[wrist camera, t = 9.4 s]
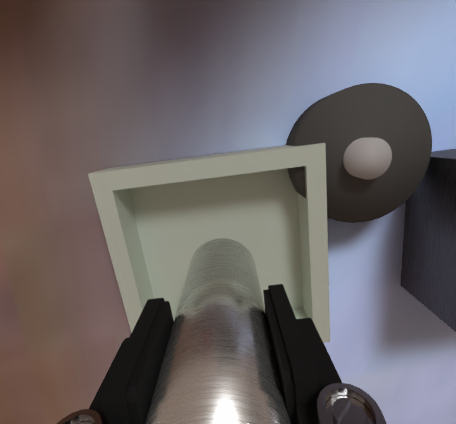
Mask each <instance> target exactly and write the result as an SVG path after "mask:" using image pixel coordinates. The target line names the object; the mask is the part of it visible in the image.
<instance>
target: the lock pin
mask: <svg viewBox="0 0 456 424" xmlns="http://www.w3.org/2000/svg"><path fill="white" fill-rule="evenodd" d="M145 424H291V421H290V418H289V416H288V412H287V407H286V403H285V398H284V394H283V389H282V385H281V380H280V376H279V371H278V367H277V362H276V358H275V353H274V349H273V344H272V340H271V336H270V331H269V327H268V322H267V318H266V313H265V306H264V302H263V297H262V293H261V288H260V284H259V280H258V275H257V271H256V266H255V262H254V259H253V256H252V254H251V253H250V251H249V250H248V249H247V248H246V247H245V246H244V245H242V244H241V243H239V242H237V241H235V240H232V239H226V238H219V239H213V240H210V241H208V242H206V243H204V244H202V245H201V246H200V247H199V248H198V249H197V250H196V251H195V253H194V254H193V256H192V259H191V262H190V266H189V269H188V273H187V276H186V280H185V283H184V287H183V291H182V294H181V298H180V301H179V305H178V308H177V312H176V316H175V319H174V323H173V326H172V330H171V333H170V337H169V341H168V344H167V348H166V351H165V355H164V358H163V362H162V365H161V369H160V373H159V376H158V380H157V383H156V387H155V390H154V394H153V398H152V401H151V405H150V408H149V412H148V415H147V419H146V422H145Z"/></svg>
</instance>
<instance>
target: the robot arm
mask: <svg viewBox="0 0 456 424" xmlns="http://www.w3.org/2000/svg"><path fill="white" fill-rule="evenodd" d="M263 294H264V304H265V313H266V318H267V322H268V327H269V331H270V336H271V340H272V344H273V349H274V353H275V358H276V362H277V367H278V371H279V376H280V380H281V385H282V389H283V394H284V398H285V403H286V407H287V412H288V416H289V418H290V421H291V424H387V423H386V421H385V419H384V416H383V414H382V411H381V410H380V408H379V406H378V404H377V403H376V402H375V401H374V399H373V398H372V397H371V396H370V395H369V394H367V393H366V392H365V391H363V390H362V389H360V388H358V387H356V386H353V385H351V384H346V383H342V382H341V379H340V377H339V375H338V373H337V371H336V369H335V367H334V365H333V363H332V360H331V358H330V356H329V354H328V352H327V350H326V348H325V346H324V344H323V341H322V339H321V337H320V335H319V333H318V331H317V329H316V327H315V324H314V322H313V321H312V319H311V318H302V319H296V317H295V314H294V312H293V309H292V307H291V304H290V302H289V299H288V296H287V294H286V291H285V289H284V286H283V284H277V285H268V289H267V290H263ZM173 323H174V320H173V316H172V311H171V306H170V303H169V301H165V300H164V298H155V299H148V300H147V302H146V304H145V306H144V308H143V310H142V312H141V315H140V317H139V319H138V321H137V323H136V325H135V327H134V329H133V331H132V333H131V335H130V337H129V338H126V339H125V340H124V341H123V343H122V344H121V346H120V348H119V350H118V352H117V354H116V356H115V358H114V360H113V362H112V364H111V366H110V368H109V370H108V372H107V374H106V376H105V378H104V380H103V382H102V384H101V386H100V388H99V390H98V392H97V394H96V396H95V398H94V400H93V402H92V404H91V406H90V408H89V409H83V410H79V411H76V412H74V413H71V414H70V415H68V416H66V417H65V418H63V419H62V420H60V421H59V422H58V423H57V424H145V422H146V419H147V415H148V412H149V408H150V405H151V401H152V398H153V394H154V390H155V387H156V383H157V380H158V376H159V373H160V369H161V365H162V362H163V358H164V355H165V351H166V348H167V344H168V341H169V337H170V333H171V330H172V326H173Z"/></svg>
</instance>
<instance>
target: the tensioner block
mask: <svg viewBox="0 0 456 424" xmlns="http://www.w3.org/2000/svg"><path fill="white" fill-rule="evenodd" d="M401 286H402V287H403V288H404V289H406V290H407V291H408V292H409V293H410V294H412V295H413V296H414V297H415V298H416V299H417V300H419V301H420V302H421V303H422V304H423V305H425V306H426V307H427V308H428V309H429V310H431V311H432V312H433V313H434V314H435V315H436V316H438V317H439V318H440V319H441V320H442V321H444V322H445V323H446V324H447V325H448V326H450V327H451V328H452V329H453V330H454V331H456V149H451V150H443V151H435V152H431V157H430V161H429V165H428V168H427V170H426V173H425V175H424V177H423V179H422V181H421V183H420V184H419V186H418V187H417V189H416V190H415V191H414V193H413V194H412V195H411V196H410V197H409V198H408V199H407V200H406V212H405V228H404V244H403V259H402V275H401Z"/></svg>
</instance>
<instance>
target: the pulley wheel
mask: <svg viewBox="0 0 456 424" xmlns="http://www.w3.org/2000/svg"><path fill="white" fill-rule="evenodd" d="M319 143H325V144H326V188H327V217H329V218H332V219H334V220H337V221H343V222H352V223H355V222H365V221H370V220H374V219H377V218H380V217H382V216H384V215H386V214H388V213H390V212H392V211H393V210H395V209H396V208H398V207H399V206H400V205H402V204H403V203H404V202H405V201H406V200H407V199H408V198H409V197H410V196H411V195H412V194H413V193H414V191H415V190H416V189H417V187H418V186H419V184H420V183H421V181H422V179H423V177H424V175H425V173H426V170H427V168H428V165H429V161H430V157H431V150H432V136H431V129H430V125H429V122H428V119H427V117H426V115H425V113H424V111H423V110H422V108H421V106H420V105H419V104H418V103H417V102H416V101H415V99H413V98H412V97H411V96H410V95H409V94H407V93H406V92H404V91H402V90H401V89H398V88H396V87H393V86H390V85H386V84H379V83H367V84H360V85H355V86H352V87H349V88H346V89H344V90H341V91H339V92H336V93H334V94H331V95H329V96H327V97H325V98H323V99H321V100H319V101H317V102H316V103H314V104H313V105H311V106H310V107H309V108H308V109H307V110H306V111H305V112H304V113H303V114H302V115H301V116H300V117H299V118H298V120H297V121H296V123H295V124H294V126H293V128H292V130H291V132H290V134H289V137H288V139H287V143H286V145H289V146H303V145H311V144H319ZM288 173H289V177H290V180H291V182H292V185H293V186H294V188H295V190H296V192H297V193H299V194H300V195H301V196H303V197H304V198H305V199H306V189H305V167H304V166H301V167H293V168H288Z"/></svg>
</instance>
